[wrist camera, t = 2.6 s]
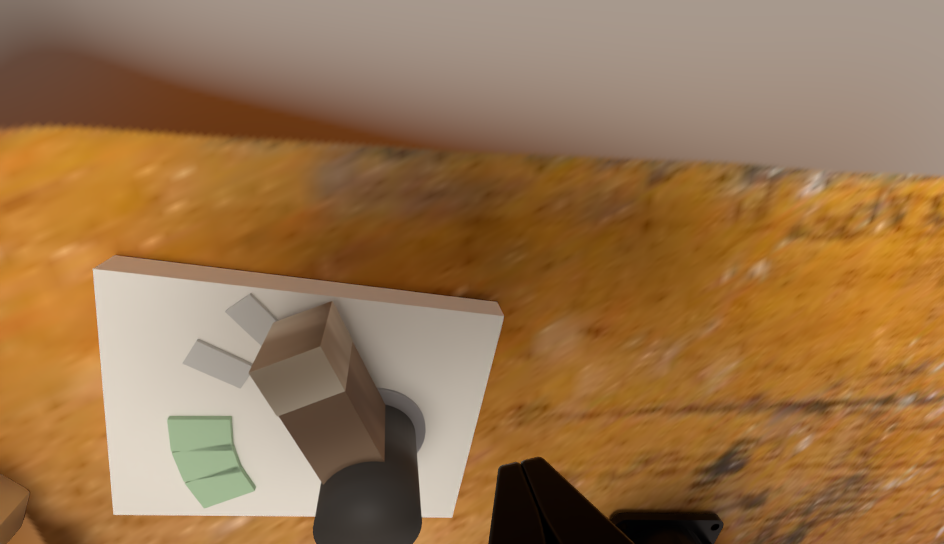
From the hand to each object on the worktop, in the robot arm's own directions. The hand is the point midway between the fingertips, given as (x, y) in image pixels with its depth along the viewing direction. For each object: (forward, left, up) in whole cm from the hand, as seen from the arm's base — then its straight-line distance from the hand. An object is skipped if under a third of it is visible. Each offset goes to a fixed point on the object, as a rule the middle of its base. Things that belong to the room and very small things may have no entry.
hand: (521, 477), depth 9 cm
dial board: (+5, +5, -9) cm, 12 cm away
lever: (+3, +4, -8) cm, 9 cm away
